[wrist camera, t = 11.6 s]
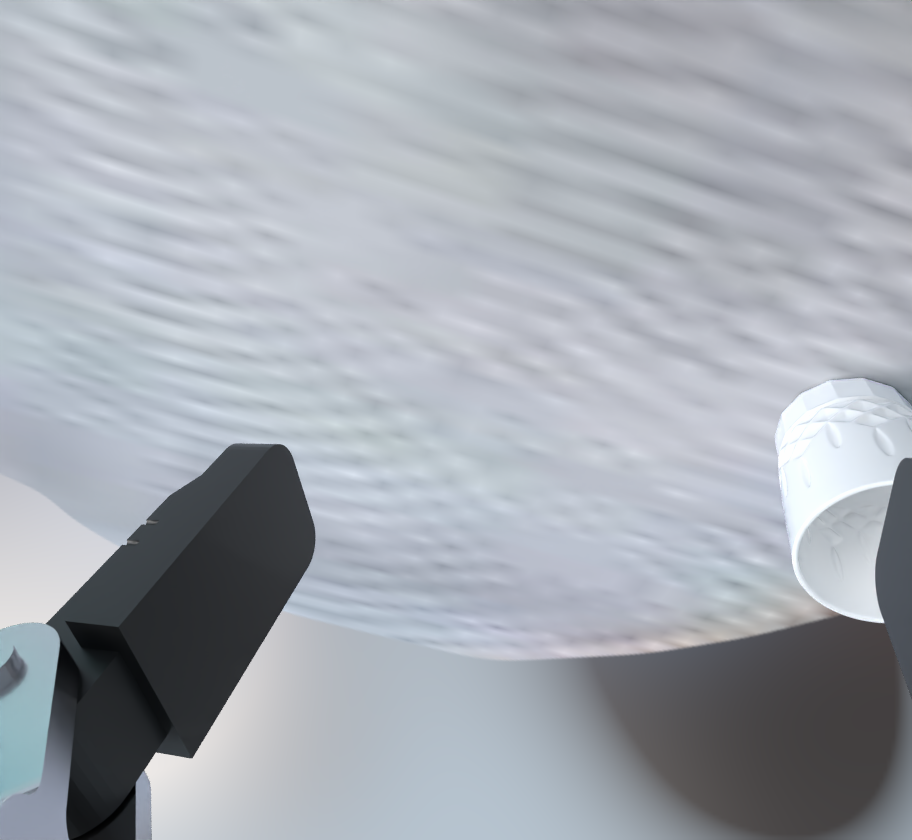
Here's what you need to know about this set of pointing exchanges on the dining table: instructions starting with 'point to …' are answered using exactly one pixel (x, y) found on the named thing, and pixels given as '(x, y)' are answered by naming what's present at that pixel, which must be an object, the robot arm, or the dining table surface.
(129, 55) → the dining table surface
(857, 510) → the white cup
